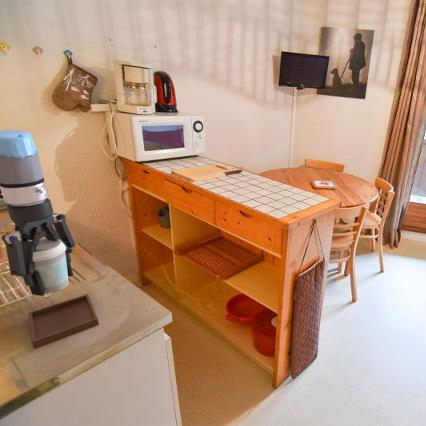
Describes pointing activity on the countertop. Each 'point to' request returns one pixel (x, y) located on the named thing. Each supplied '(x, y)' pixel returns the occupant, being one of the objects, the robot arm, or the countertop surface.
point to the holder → (61, 320)
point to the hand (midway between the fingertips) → (53, 284)
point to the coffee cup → (51, 265)
